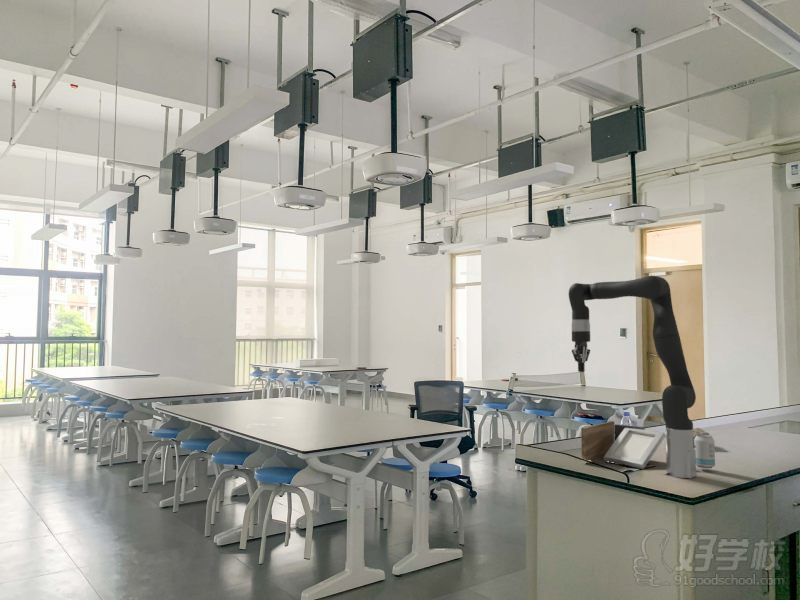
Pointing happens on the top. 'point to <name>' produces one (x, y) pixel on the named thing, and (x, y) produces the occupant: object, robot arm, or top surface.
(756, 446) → the top surface
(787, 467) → the top surface
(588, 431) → the shelf back
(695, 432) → the pumice stone
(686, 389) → the robot arm
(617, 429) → the bookend
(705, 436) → the beverage can
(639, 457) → the picture frame
